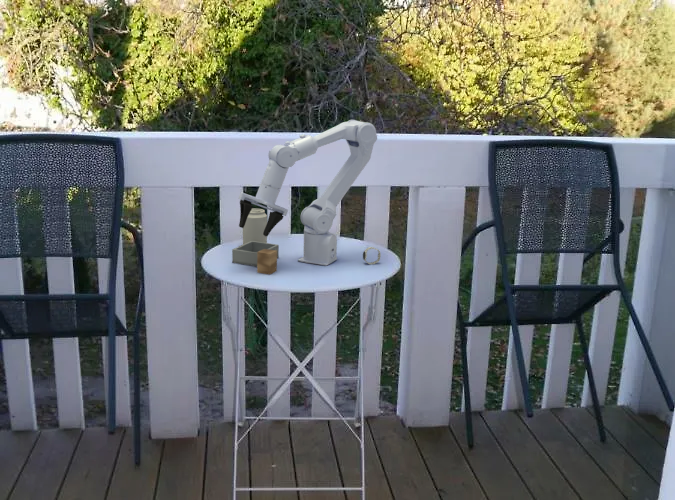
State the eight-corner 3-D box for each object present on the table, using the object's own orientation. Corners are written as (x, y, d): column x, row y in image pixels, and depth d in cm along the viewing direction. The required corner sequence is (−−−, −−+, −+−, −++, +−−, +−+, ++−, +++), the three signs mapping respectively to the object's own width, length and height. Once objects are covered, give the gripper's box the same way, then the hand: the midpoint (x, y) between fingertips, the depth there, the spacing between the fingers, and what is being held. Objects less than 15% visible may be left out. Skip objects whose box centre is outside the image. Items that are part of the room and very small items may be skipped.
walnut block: (276, 271, 205) (276, 250, 204) (269, 274, 202) (270, 254, 200) (264, 269, 207) (264, 248, 205) (257, 272, 203) (257, 252, 202)
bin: (278, 257, 218) (278, 244, 217) (260, 267, 208) (260, 253, 207) (251, 253, 222) (251, 240, 221) (232, 262, 212) (232, 249, 211)
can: (263, 251, 225) (263, 213, 222) (239, 249, 226) (239, 211, 223) (269, 245, 232) (269, 208, 229) (246, 243, 233) (246, 206, 230)
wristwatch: (362, 262, 216) (362, 246, 215) (378, 262, 217) (378, 246, 216) (364, 265, 213) (365, 249, 212) (381, 264, 214) (381, 248, 213)
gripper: (252, 179, 197) (234, 226, 198) (298, 197, 204) (280, 242, 205) (244, 176, 203) (226, 221, 204) (289, 193, 210) (272, 236, 211)
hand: (253, 231), depth 205 cm, fingers open, 7 cm apart
